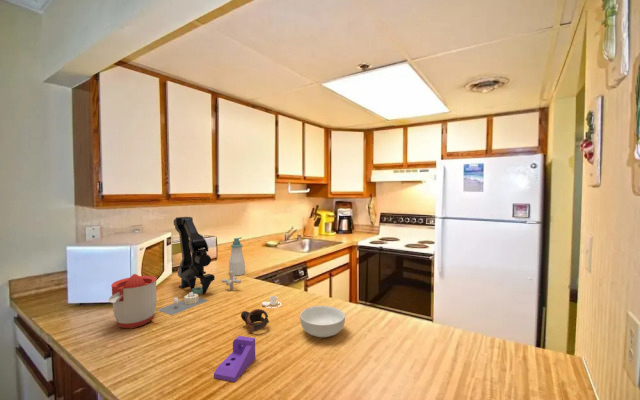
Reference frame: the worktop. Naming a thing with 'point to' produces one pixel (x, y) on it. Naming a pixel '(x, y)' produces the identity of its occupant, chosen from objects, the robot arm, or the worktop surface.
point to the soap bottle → (236, 258)
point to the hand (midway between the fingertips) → (198, 292)
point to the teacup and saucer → (271, 302)
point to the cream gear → (191, 299)
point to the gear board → (180, 305)
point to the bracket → (237, 359)
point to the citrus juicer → (134, 300)
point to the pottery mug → (255, 319)
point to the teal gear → (197, 290)
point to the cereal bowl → (322, 320)
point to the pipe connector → (231, 281)
